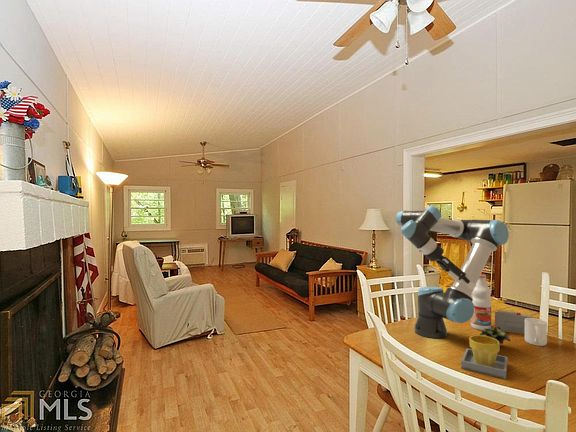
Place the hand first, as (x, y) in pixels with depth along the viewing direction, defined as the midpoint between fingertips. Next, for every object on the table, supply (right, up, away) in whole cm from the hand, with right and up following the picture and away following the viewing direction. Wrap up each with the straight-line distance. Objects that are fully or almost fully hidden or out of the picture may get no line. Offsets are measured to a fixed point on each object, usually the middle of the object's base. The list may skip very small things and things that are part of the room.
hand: (466, 284), depth 143 cm
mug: (+37, -30, +8) cm, 48 cm away
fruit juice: (+24, -29, +30) cm, 48 cm away
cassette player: (+37, -30, +24) cm, 53 cm away
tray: (0, -30, -13) cm, 33 cm away
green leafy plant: (+15, -30, +5) cm, 34 cm away
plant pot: (0, -29, -13) cm, 32 cm away
